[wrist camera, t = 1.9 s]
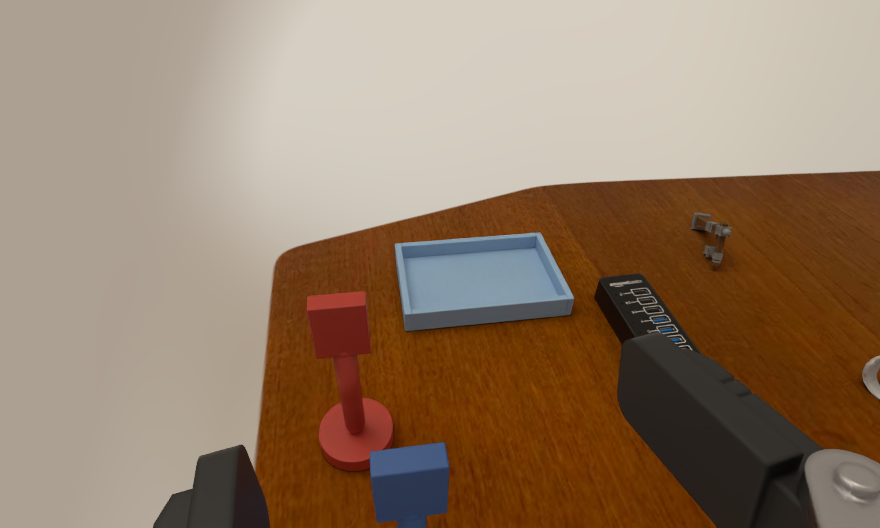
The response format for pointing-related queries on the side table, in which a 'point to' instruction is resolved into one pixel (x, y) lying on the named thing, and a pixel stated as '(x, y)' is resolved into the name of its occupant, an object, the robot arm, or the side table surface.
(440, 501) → the blue sign on stand
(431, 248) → the tray
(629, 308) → the multiport hub
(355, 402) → the red sign on stand
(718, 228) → the wooden post with brackets
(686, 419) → the robot arm
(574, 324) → the side table surface
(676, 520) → the side table surface
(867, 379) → the smartwatch
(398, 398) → the side table surface
